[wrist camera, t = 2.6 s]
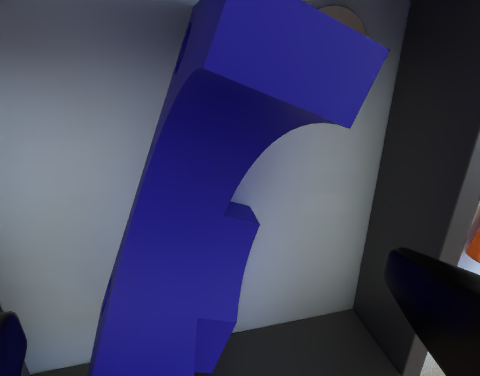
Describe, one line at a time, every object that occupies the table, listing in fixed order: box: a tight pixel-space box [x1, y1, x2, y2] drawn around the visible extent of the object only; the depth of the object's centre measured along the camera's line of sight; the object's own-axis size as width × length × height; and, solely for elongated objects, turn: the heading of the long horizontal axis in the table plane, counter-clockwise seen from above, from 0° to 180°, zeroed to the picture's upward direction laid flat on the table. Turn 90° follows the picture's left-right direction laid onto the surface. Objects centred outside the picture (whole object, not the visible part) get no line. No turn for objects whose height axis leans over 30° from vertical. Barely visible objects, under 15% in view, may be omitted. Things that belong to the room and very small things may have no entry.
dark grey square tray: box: [0, 0, 480, 376], centre depth 11 cm, size 18×18×4 cm
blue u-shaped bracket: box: [88, 0, 390, 376], centre depth 10 cm, size 12×4×6 cm, turn 158°
